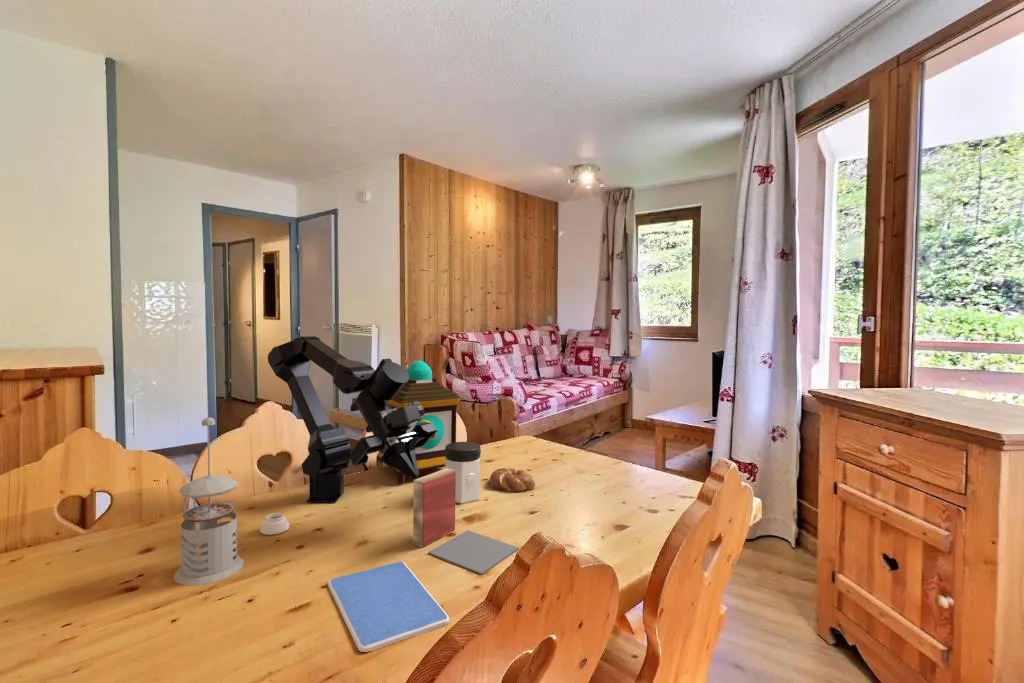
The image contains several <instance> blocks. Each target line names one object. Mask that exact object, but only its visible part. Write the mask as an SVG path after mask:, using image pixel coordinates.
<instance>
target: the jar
mask: <svg viewBox="0 0 1024 683" xmlns="http://www.w3.org/2000/svg"><path fill="white" fill-rule="evenodd" d="M481 452H482V450H481V445H480V444H479V443H476V442H472V441H456V442H454V443H450V444H447V445H446V447H445V457H446V459H445V467H444V469H446V468H448V469H452V470H456V494H455V504H457V503H458V504H466V503H467V504H468V503H471V502H472V503H473V502H475V501H480V469H481V468H480V467H481V465H480V463H481Z"/></svg>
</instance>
